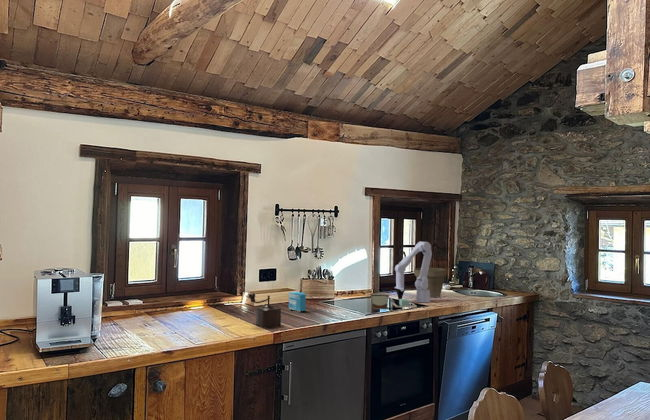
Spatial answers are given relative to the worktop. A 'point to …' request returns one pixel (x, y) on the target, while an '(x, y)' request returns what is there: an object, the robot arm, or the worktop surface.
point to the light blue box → (297, 301)
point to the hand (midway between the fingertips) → (400, 299)
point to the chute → (402, 306)
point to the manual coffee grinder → (266, 313)
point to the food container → (379, 300)
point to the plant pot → (433, 280)
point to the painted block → (404, 302)
